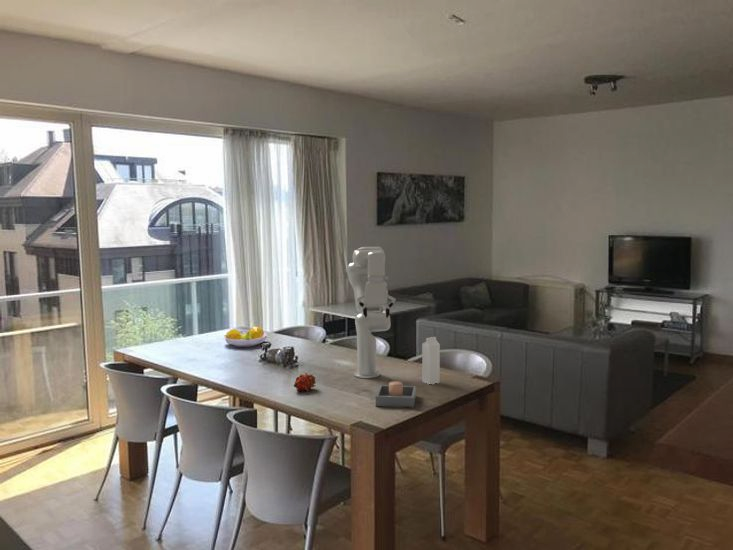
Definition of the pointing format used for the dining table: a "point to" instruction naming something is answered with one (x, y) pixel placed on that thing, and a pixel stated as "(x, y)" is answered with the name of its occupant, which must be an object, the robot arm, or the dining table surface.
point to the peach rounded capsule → (396, 389)
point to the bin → (396, 397)
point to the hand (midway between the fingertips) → (376, 317)
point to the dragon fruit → (305, 382)
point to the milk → (431, 361)
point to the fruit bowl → (245, 337)
